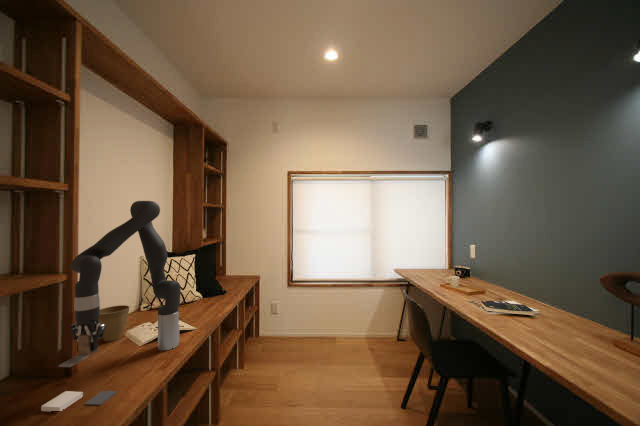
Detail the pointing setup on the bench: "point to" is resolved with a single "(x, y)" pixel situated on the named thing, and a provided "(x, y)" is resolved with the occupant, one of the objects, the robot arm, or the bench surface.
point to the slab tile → (62, 401)
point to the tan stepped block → (80, 351)
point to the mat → (101, 398)
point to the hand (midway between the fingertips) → (88, 350)
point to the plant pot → (113, 321)
